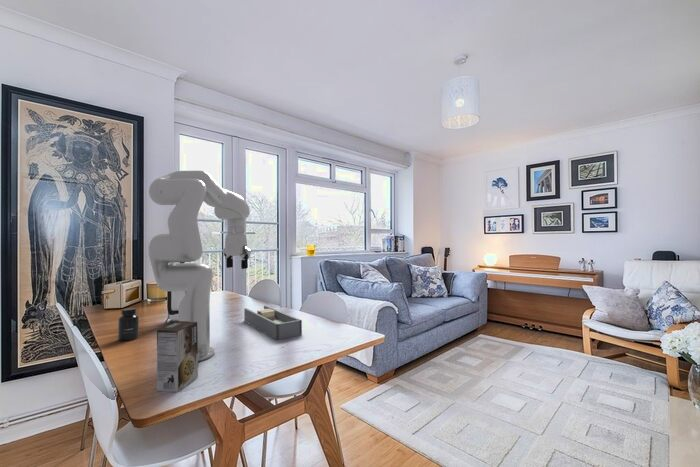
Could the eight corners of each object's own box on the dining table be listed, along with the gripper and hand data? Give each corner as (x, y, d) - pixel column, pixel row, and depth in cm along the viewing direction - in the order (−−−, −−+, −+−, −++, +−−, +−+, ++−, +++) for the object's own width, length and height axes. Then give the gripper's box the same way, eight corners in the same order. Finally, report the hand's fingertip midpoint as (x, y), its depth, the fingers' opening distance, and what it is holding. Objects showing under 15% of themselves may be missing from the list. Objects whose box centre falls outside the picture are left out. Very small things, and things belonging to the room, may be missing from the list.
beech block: (274, 319, 148) (274, 310, 148) (262, 321, 145) (262, 312, 145) (269, 317, 153) (269, 308, 153) (257, 319, 149) (257, 310, 149)
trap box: (301, 334, 132) (301, 320, 133) (276, 339, 126) (276, 324, 126) (265, 317, 163) (265, 305, 163) (244, 320, 156) (244, 308, 156)
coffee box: (177, 376, 93) (177, 320, 93) (198, 377, 92) (198, 321, 93) (155, 391, 84) (155, 329, 84) (178, 392, 83) (178, 330, 83)
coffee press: (159, 321, 157) (159, 260, 158) (194, 315, 168) (193, 258, 168) (167, 328, 144) (167, 261, 145) (204, 322, 155) (204, 259, 155)
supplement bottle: (126, 342, 125) (126, 311, 125) (113, 340, 127) (113, 310, 127) (142, 337, 131) (142, 307, 131) (130, 335, 133) (130, 306, 134)
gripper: (216, 231, 148) (217, 268, 148) (243, 230, 139) (244, 270, 140) (229, 230, 154) (230, 266, 155) (256, 230, 146) (256, 268, 146)
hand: (237, 268), depth 147 cm, fingers open, 9 cm apart
